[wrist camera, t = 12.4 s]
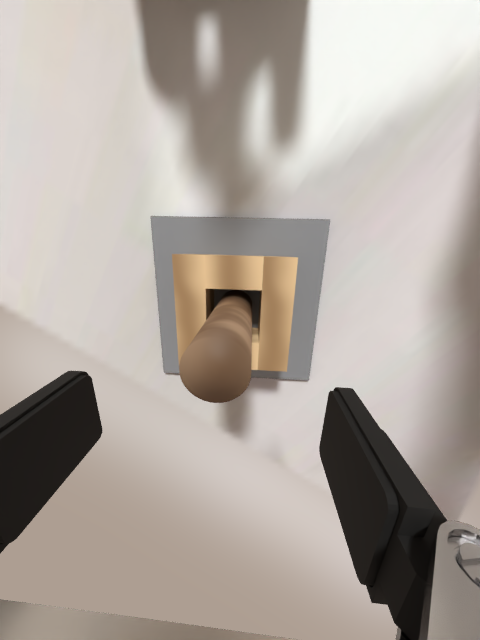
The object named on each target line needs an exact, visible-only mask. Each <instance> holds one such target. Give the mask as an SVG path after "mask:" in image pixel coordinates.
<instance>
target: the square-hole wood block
mask: <svg viewBox="0 0 480 640" xmlns="http://www.w3.org/2000/svg"><path fill="white" fill-rule="evenodd" d="M172 263H173V279H174V296H175V312H176V328H177V344H178V360H179V364H180V360H181V357H182V355H183V353H184V352H185V350H186V349H187V347H188V346H189V345H190V343H191V342H192V340H193V339H194V337H195V336H196V334H197V333H198V332H199V330H200V329H201V327H202V326H203V324H204V323H205V322H206V320H207V319H208V317H209V316H210V314H211V313H212V311H213V310H214V289H235V290H260V302H259V321H258V328H252V363H251V370H266V371H285V372H287V366H288V355H289V345H290V335H291V325H292V315H293V305H294V295H295V285H296V275H297V265H298V257H282V256H246V255H210V254H172Z"/></svg>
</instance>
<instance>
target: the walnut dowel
mask: <svg viewBox="0 0 480 640" xmlns="http://www.w3.org/2000/svg"><path fill="white" fill-rule="evenodd" d="M251 363H252V301H251V298H250V297H249V295H248V294H247V293H245V292H244V291H241V290H231V291H228V292H227V293H225V294H224V296H223V297H222V298H221V300H220V301H219V303H218V304H217V306H216V307H215V309H214V310H213V311H212V313H211V314H210V316H209V317H208V319H207V320H206V322H205V323H204V324H203V326H202V327H201V329H200V330H199V332H198V333H197V334H196V336H195V337H194V339H193V340H192V342H191V343H190V345H189V346H188V347H187V349H186V350H185V352H184V353H183V355H182V357H181V360H180V364H179V372H180V377H181V380H182V382H183V384H184V385H185V387H186V388H187V389H188V390H189V391H190V392H191V393H192V394H193V395H194V396H196V397H198V398H200V399H202V400H204V401H208V402H214V403H222V402H227V401H231V400H233V399H235V398H237V397H238V396H240V395H241V394H242V393H243V392H244V391H245V390H246V388H247V387H248V385H249V383H250V379H251Z"/></svg>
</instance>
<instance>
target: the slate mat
mask: <svg viewBox="0 0 480 640" xmlns="http://www.w3.org/2000/svg"><path fill="white" fill-rule="evenodd" d="M329 225H330V220H328V219H277V218H225V217H173V216H151V227H152V239H153V251H154V263H155V274H156V286H157V298H158V310H159V322H160V333H161V345H162V357H163V369H164V373H180V372H179V360H178V344H177V328H176V312H175V296H174V279H173V263H172V254H210V255H246V256H282V257H298V265H297V275H296V285H295V295H294V305H293V315H292V325H291V335H290V345H289V355H288V366H287V372H285V371H266V370H251V377H255V378H274V379H292V380H309V375H310V367H311V360H312V352H313V345H314V337H315V330H316V322H317V315H318V307H319V300H320V292H321V285H322V277H323V270H324V262H325V255H326V247H327V240H328V232H329ZM231 290H235V289H214V309H215V307H216V306H217V304H218V303H219V301H220V300H221V298H222V297H223V296H224V294H225V293H227V292H228V291H231ZM241 291H244V292H245V293H247V294H248V295H249V297H250V298H251V301H252V328H258V321H259V302H260V290H241Z"/></svg>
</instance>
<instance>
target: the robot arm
mask: <svg viewBox="0 0 480 640" xmlns="http://www.w3.org/2000/svg"><path fill="white" fill-rule="evenodd" d="M101 434H102V426H101V421H100V416H99V411H98V407H97V402H96V397H95V392H94V387H93V383H92V378H91V377H90V376H89V375H88V374H87V372H82V371H68V372H66V373H64V374H63V375H61V376H60V377H58V378H57V379H56V380H54V381H52V382H51V383H49V384H47V385H46V386H44V387H43V388H41V389H40V390H38V391H37V392H35V393H33V394H32V395H30V396H29V397H27V398H26V399H24V400H23V401H21V402H20V403H18V404H17V405H15V406H13V407H12V408H10V409H9V410H7V411H6V412H4V413H3V414H1V415H0V553H1V552H2V551H3V550H4V548H5V547H6V546H7V545H8V544H9V543H11V542H12V541H14V540H15V539H16V538H17V537H18V536H19V535H20V534H21V533H22V531H23V530H24V529H25V528H26V526H27V525H28V524H29V523H30V522H31V521H32V519H33V518H34V517H35V515H37V513H38V512H39V511H40V510H41V509H42V507H43V506H44V505H45V504H46V503H47V501H48V500H49V499H50V498H51V497H52V495H53V494H54V493H55V492H56V490H57V489H58V488H59V487H60V486H61V484H62V483H63V482H64V481H65V479H66V478H67V477H68V476H69V475H70V474H71V472H72V471H73V470H74V469H75V468H76V466H77V465H78V464H79V463H80V462H81V460H82V459H83V458H84V457H85V456H86V454H87V453H88V452H89V451H90V450H91V448H92V447H93V446H94V445H95V443H96V442H97V441H98V440H99V438H100V437H101ZM320 457H321V460H322V464H323V467H324V470H325V473H326V477H327V480H328V483H329V486H330V490H331V493H332V496H333V499H334V503H335V506H336V509H337V513H338V516H339V519H340V522H341V526H342V529H343V532H344V535H345V539H346V542H347V545H348V548H349V552H350V555H351V558H352V561H353V565H354V568H355V571H356V574H357V577H358V579H359V581H360V583H361V584H363V585H366V586H367V589H368V592H369V595H370V599H371V602H372V603H379V604H387V605H388V607H389V610H390V612H391V615H392V618H393V621H394V623H395V624H396V625H397V626H398V629H397V635H396V640H480V530H479V529H477V528H475V527H473V526H471V525H469V524H465V523H462V522H459V521H447V520H446V518H445V517H444V515H443V514H442V512H441V511H440V510H439V508H438V507H437V505H436V504H435V503H434V501H433V500H432V498H431V497H430V495H429V494H428V493H427V491H426V490H425V488H424V487H423V485H422V484H421V483H420V481H419V480H418V478H417V477H416V475H415V474H414V473H413V471H412V470H411V468H410V467H409V465H408V464H407V463H406V461H405V460H404V458H403V457H402V456H401V454H400V453H399V451H398V450H397V448H396V447H395V446H394V444H393V443H392V441H391V440H390V438H389V437H388V436H387V434H386V433H385V432H384V431H383V430H382V429H380V427H379V426H378V424H377V423H376V422H375V420H374V419H373V417H372V416H371V414H370V413H369V411H368V410H367V409H366V407H365V406H364V404H363V403H362V401H361V400H360V398H359V397H358V395H357V394H356V393H355V391H354V390H353V389H352V388H339V387H336V388H335V389H334V391H330V392H329V395H328V401H327V407H326V413H325V418H324V424H323V430H322V435H321V441H320ZM0 640H295V639H290V638H283V637H276V636H269V635H261V634H254V633H247V632H240V631H232V630H225V629H218V628H211V627H204V626H196V625H189V624H182V623H174V622H167V621H160V620H153V619H145V618H138V617H130V616H122V615H115V614H107V613H100V612H92V611H85V610H76V609H69V608H61V607H54V606H46V605H39V604H31V603H23V602H15V601H8V600H0Z"/></svg>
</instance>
